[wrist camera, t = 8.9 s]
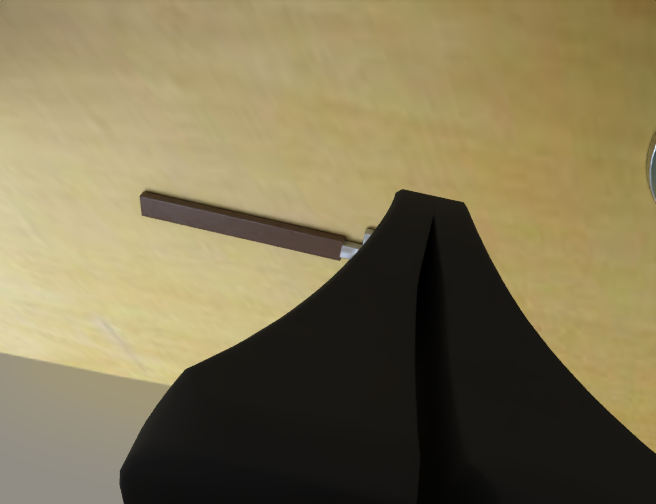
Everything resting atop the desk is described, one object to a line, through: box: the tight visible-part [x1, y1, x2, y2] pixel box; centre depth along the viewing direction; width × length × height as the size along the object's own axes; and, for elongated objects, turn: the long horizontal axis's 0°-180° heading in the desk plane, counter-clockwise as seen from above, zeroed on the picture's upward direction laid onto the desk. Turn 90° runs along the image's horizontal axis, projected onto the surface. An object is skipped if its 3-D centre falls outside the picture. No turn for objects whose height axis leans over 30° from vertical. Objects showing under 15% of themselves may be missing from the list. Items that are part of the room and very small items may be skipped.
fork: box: [140, 192, 374, 261], centre depth 25 cm, size 15×2×1 cm, turn 83°
